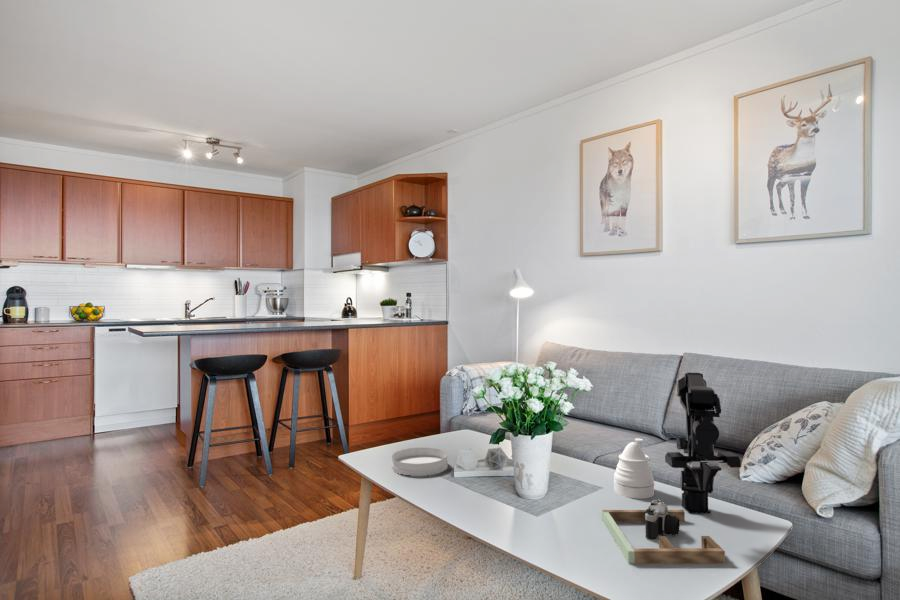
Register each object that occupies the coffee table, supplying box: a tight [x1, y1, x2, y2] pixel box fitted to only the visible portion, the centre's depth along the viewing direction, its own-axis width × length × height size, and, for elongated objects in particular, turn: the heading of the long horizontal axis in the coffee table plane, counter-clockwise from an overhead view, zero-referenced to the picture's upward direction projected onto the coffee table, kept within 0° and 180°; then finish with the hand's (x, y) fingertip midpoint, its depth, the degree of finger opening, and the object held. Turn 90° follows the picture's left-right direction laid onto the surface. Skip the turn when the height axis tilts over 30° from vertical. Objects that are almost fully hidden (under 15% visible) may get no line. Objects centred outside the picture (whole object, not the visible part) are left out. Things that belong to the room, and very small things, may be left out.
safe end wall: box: [601, 509, 636, 564], centre depth 147 cm, size 2×26×3 cm, turn 178°
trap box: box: [602, 509, 726, 564], centre depth 147 cm, size 24×26×3 cm
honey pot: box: [613, 437, 655, 500], centre depth 183 cm, size 13×13×18 cm
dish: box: [391, 447, 449, 477], centre depth 213 cm, size 22×22×5 cm
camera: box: [644, 499, 681, 542], centre depth 151 cm, size 13×8×9 cm, turn 148°
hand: (702, 490), depth 150 cm, fingers closed
